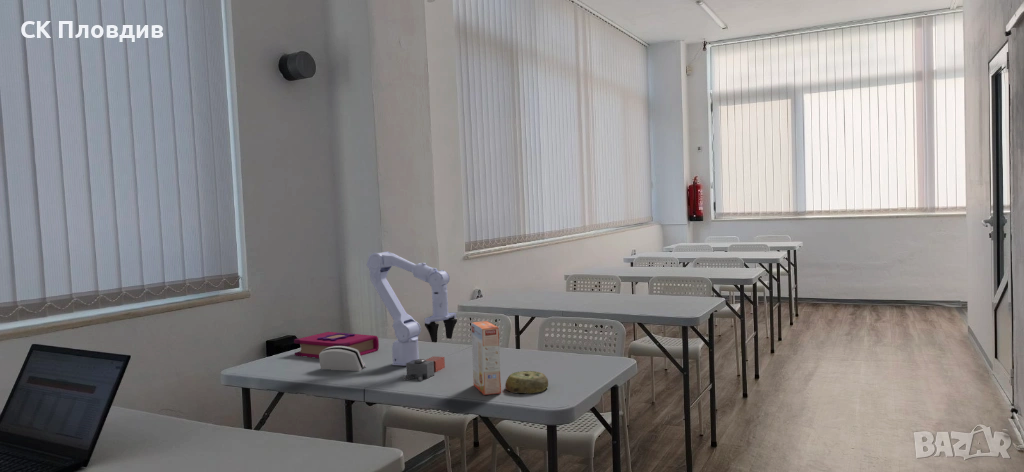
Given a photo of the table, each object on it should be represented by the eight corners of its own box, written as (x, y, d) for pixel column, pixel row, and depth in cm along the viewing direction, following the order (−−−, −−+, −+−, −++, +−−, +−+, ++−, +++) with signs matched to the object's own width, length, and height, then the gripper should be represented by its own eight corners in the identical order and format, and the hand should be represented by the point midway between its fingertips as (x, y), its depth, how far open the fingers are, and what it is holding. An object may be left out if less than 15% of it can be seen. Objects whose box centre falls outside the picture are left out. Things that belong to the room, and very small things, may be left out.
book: (331, 346, 306) (330, 329, 305) (379, 351, 291) (378, 333, 291) (293, 356, 288) (292, 338, 287) (342, 362, 273) (341, 342, 273)
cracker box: (502, 393, 216) (499, 326, 215) (483, 396, 215) (480, 328, 214) (490, 383, 230) (488, 320, 229) (473, 385, 228) (470, 321, 227)
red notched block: (424, 371, 250) (423, 360, 250) (433, 367, 257) (433, 356, 257) (435, 372, 249) (435, 361, 248) (444, 367, 255) (444, 356, 255)
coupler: (429, 366, 257) (428, 351, 257) (448, 368, 254) (447, 352, 254) (402, 379, 239) (401, 363, 239) (422, 381, 236) (421, 364, 236)
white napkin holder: (367, 367, 260) (361, 344, 256) (361, 374, 256) (355, 351, 252) (327, 366, 265) (321, 343, 261) (321, 373, 261) (314, 350, 257)
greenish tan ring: (557, 389, 220) (556, 373, 219) (522, 397, 212) (522, 381, 212) (531, 381, 231) (530, 366, 231) (497, 389, 223) (497, 373, 223)
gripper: (433, 306, 249) (435, 344, 250) (461, 301, 261) (463, 337, 261) (419, 305, 254) (421, 342, 254) (448, 300, 265) (449, 336, 266)
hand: (441, 340), depth 258 cm, fingers open, 7 cm apart
